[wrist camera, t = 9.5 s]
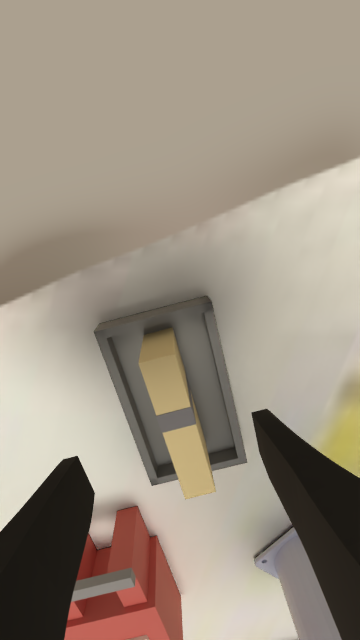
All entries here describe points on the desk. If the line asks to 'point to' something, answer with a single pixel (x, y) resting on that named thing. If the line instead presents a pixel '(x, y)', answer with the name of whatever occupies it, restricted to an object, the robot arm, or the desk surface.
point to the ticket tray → (202, 372)
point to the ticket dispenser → (125, 588)
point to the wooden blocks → (176, 411)
